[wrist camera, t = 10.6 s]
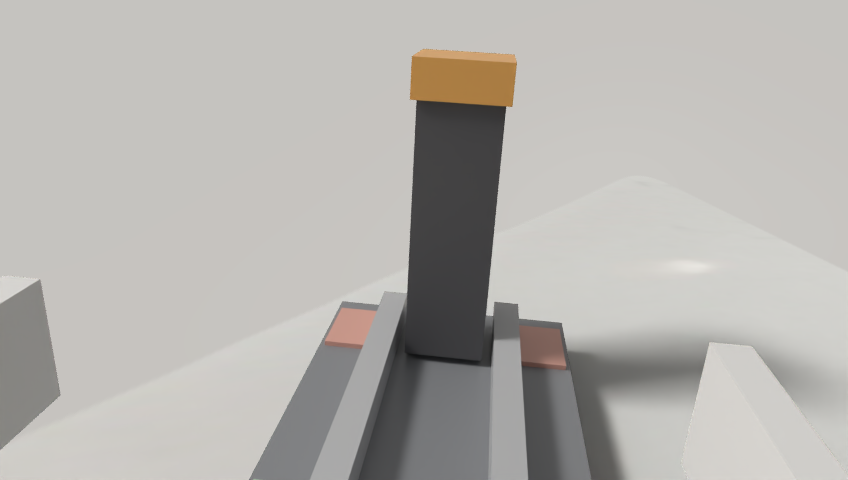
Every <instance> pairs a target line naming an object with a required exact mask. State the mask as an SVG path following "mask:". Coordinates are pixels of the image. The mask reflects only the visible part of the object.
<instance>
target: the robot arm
mask: <svg viewBox="0 0 848 480" xmlns="http://www.w3.org/2000/svg"><path fill="white" fill-rule="evenodd" d="M59 396H60V390H59V384H58V378H57V372H56V367H55V361H54V355H53V349H52V344H51V338H50V332H49V327H48V321H47V315H46V310H45V303H44V298H43V292H42V286H41V281H40V279H34V278H24V277H12V276H3V277H1V278H0V450H1V449H2V448H3V447H4V446H5V445H6V444H7V443H9V442H10V441H11V440H12V439H13V438H14V437H15V436H16V435H17V434H18V433H20V432H21V431H22V430H23V429H24V428H25V427H26V426H27V425H28V424H29V423H30V422H32V421H33V419H35V418H36V417H37V416H38V415H39V414H40V413H41V412H43V411H44V410H45V409H46V408H47V407H48V406H49V405H50V404H51V403H52V402H54V401H55V400H56V399H57V398H58V397H59ZM681 464H682V467H683V469H684V471H685V474H686V476H687V479H688V480H848V473H847V472H846V471H845V469H844V468H843V467H842V465H841V464H840V463H839V461H838V460H837V459H836V457H835V456H834V455H833V453H832V452H831V451H830V449H829V448H828V447H827V445H826V444H825V443H824V441H823V440H822V439H821V437H820V436H819V435H818V433H817V432H816V431H815V429H814V428H813V427H812V425H811V424H810V423H809V421H808V420H807V419H806V417H805V416H804V415H803V413H802V412H801V411H800V409H799V408H798V407H797V405H796V404H795V403H794V401H793V400H792V399H791V397H790V396H789V395H788V393H787V392H786V391H785V389H784V388H783V387H782V385H781V384H780V383H779V381H778V380H777V379H776V377H775V376H774V375H773V373H772V372H771V371H770V369H769V368H768V367H767V365H766V364H765V363H764V361H763V360H762V359H761V357H760V356H759V355H758V353H757V352H756V351H755V349H754V348H753V347H752V346H746V345H735V344H724V343H714V342H710V343H709V347H708V351H707V355H706V359H705V364H704V368H703V372H702V376H701V380H700V384H699V389H698V393H697V397H696V401H695V405H694V409H693V414H692V418H691V422H690V426H689V430H688V435H687V439H686V443H685V447H684V451H683V455H682V460H681Z"/></svg>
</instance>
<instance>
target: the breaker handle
mask: <svg viewBox="0 0 848 480" xmlns="http://www.w3.org/2000/svg"><path fill="white" fill-rule="evenodd" d="M516 65H517V62H516V58H515V55H511V54H496V53H479V52H463V51H448V50H433V49H423V50H421V51H420V52H418V53H416V54H415V55H413V56H412V67H411V90H410V99H411V100H417V105H416V125H415V147H414V167H413V187H412V189H413V190H412V208H411V229H410V250H409V251H410V252H409V270H408V291H407V312H406V332H405V353H410V354H419V355H429V356H438V357H448V358H457V359H467V360H477V361H481V359H482V349H483V339H484V328H485V318H486V308H487V298H488V287H489V277H490V267H491V257H492V246H493V236H494V225H495V215H496V205H497V194H498V184H499V174H500V163H501V154H502V143H503V133H504V123H505V113H506V106H508V107H512V105H513V95H514V85H515V75H516Z"/></svg>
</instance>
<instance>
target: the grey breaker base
mask: <svg viewBox="0 0 848 480" xmlns="http://www.w3.org/2000/svg"><path fill="white" fill-rule="evenodd" d="M406 312H407V293H396V292H386V291H385V292H384V294H383V297H382V299H381V302H380V304H379V305H374V304H363V303H353V302H342V304H341V305H340V307H339V309H338V311H337V313H336V315H335V317H334V319H333V321H332V323H331V324H330V326H329V328H328V330H327V332H326V334H325V336H324V338H323V340H322V342H321V344H320V345H319V347H318V349H317V351H316V353H315V355H314V357H313V359H312V361H311V363H310V365H309V366H308V368H307V370H306V372H305V374H304V376H303V378H302V380H301V382H300V384H299V386H298V387H297V389H296V391H295V393H294V395H293V397H292V399H291V401H290V403H289V405H288V407H287V408H286V410H285V412H284V414H283V416H282V418H281V420H280V422H279V424H278V426H277V427H276V429H275V431H274V433H273V435H272V437H271V439H270V441H269V443H268V445H267V447H266V448H265V450H264V452H263V454H262V456H261V458H260V460H259V462H258V464H257V466H256V468H255V469H254V471H253V473H252V475H251V477H250V479H249V480H591V475H590V469H589V464H588V459H587V454H586V448H585V443H584V438H583V433H582V428H581V422H580V417H579V412H578V407H577V401H576V396H575V391H574V386H573V380H572V375H571V370H570V365H569V359H568V354H567V349H566V344H565V338H564V333H563V328H562V323H557V322H547V321H537V320H526V319H519V315H518V304H511V303H500V302H494V312H493V316H486V318H485V328H484V339H483V349H482V359H481V361H477V360H467V359H457V358H448V357H438V356H429V355H419V354H410V353H405V332H406Z"/></svg>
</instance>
